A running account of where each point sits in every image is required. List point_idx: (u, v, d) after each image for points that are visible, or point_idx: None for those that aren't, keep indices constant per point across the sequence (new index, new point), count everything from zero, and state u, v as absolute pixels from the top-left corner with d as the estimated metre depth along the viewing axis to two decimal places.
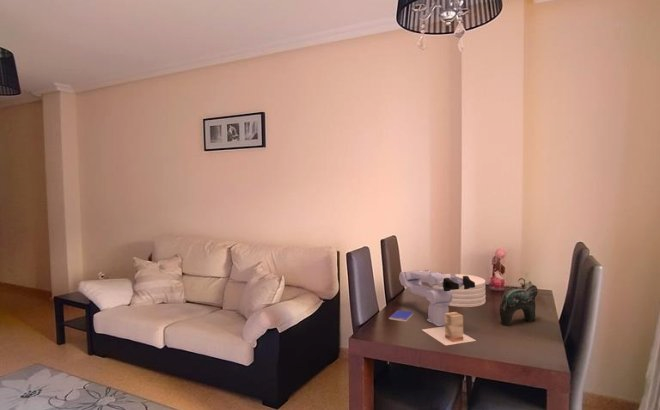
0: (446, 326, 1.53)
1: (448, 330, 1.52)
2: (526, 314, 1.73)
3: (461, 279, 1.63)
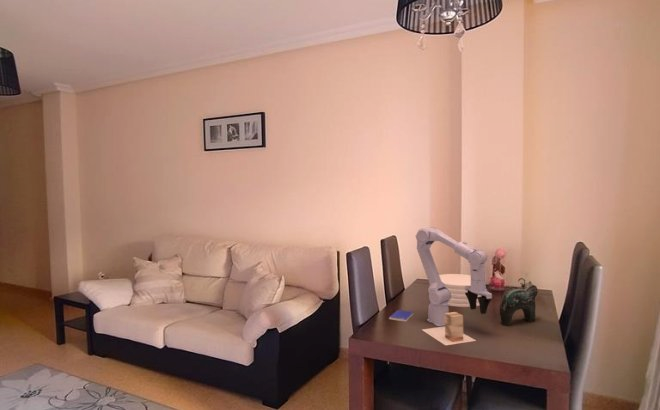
0: (446, 326, 1.53)
1: (448, 330, 1.52)
2: (526, 314, 1.73)
3: None
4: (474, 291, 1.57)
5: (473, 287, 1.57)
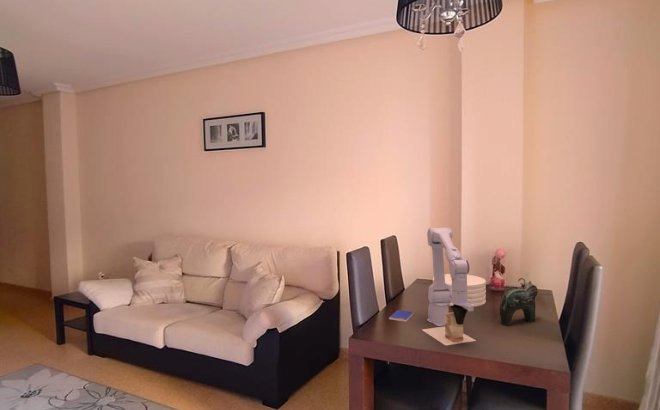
0: (446, 326, 1.53)
1: (448, 330, 1.52)
2: (526, 314, 1.73)
3: None
4: (455, 303, 1.46)
5: (454, 298, 1.47)
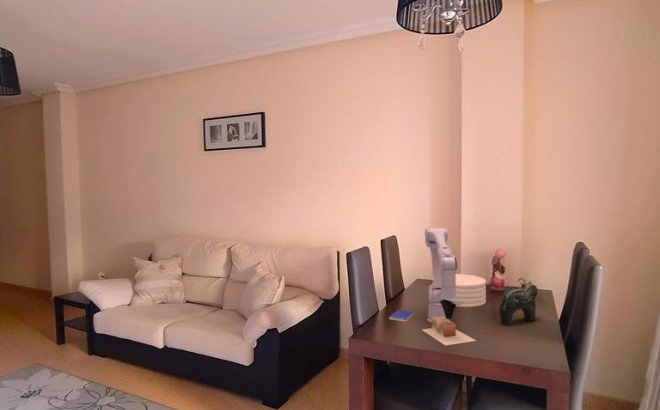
0: (438, 330, 1.59)
1: (439, 328, 1.58)
2: (526, 314, 1.73)
3: None
4: (444, 298, 1.53)
5: (443, 294, 1.54)
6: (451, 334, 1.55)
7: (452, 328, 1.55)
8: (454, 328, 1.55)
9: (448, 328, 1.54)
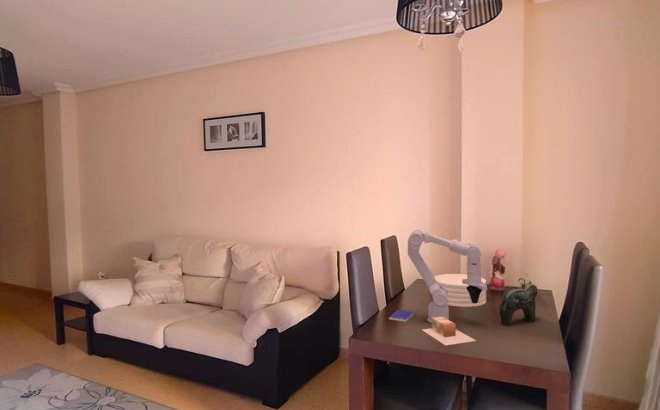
0: (438, 330, 1.59)
1: (439, 328, 1.58)
2: (526, 314, 1.73)
3: None
4: (470, 284, 1.65)
5: (469, 280, 1.66)
6: (451, 334, 1.55)
7: (452, 328, 1.55)
8: (454, 328, 1.55)
9: (448, 328, 1.54)
